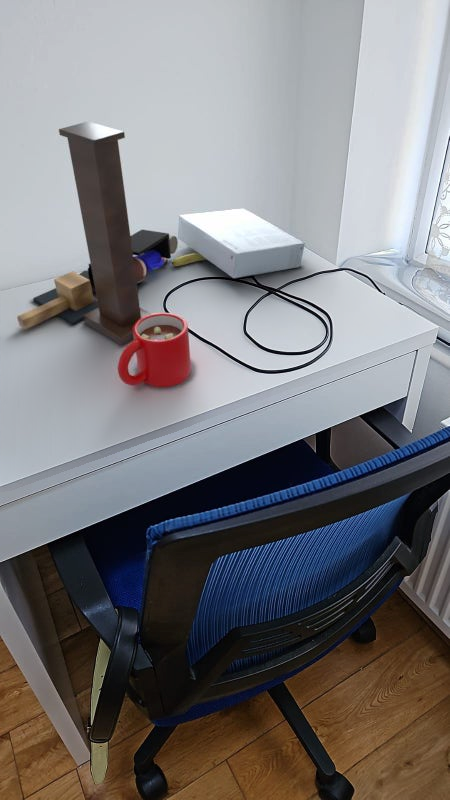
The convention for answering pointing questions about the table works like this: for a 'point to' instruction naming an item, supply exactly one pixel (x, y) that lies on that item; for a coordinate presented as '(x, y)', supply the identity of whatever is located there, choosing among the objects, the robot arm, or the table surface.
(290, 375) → the table surface
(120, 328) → the stand
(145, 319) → the mug
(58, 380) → the table surface
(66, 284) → the wooden toy mallet
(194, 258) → the banana
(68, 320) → the mat
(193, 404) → the table surface
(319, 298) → the table surface
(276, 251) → the skincare box
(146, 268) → the figurine character
